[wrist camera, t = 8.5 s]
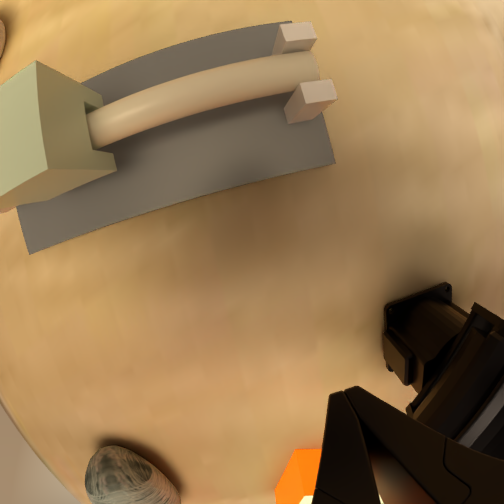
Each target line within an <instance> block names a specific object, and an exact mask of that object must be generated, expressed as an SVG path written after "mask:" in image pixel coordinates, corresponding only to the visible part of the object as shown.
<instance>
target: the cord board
mask: <svg viewBox="0 0 504 504" xmlns="http://www.w3.org/2000/svg"><path fill="white" fill-rule="evenodd" d="M316 39H317V36H316V33H315V31H314V28H313V26H312V23H311V21H309V22H298V23H292V21H286V22H278V23H271V24H264V25H258V26H252V27H246V28H241V29H236V30H231V31H226V32H222V33H217V34H213V35H209V36H205V37H201V38H198V39H194V40H190V41H187V42H184V43H180V44H177V45H174V46H171V47H167V48H164V49H161V50H159V51H156V52H153V53H150V54H147V55H144V56H142V57H139V58H137V59H134V60H131V61H129V62H126V63H124V64H122V65H119V66H117V67H115V68H112V69H110V70H108V71H106V72H103V73H101V74H99V75H97V76H95V77H93V78H91V79H89V80H87V81H85V82H83V83H81V84H82V85H84V86H86V87H88V88H89V89H91V90H93V91H95V92H97V93H98V94H100V95H102V100H103V107H101V108H99V109H97V110H94V111H92V112H90V113H88V114H86V119H87V125H88V130H89V136H90V141H91V146H92V150H97V151H102V152H108V153H113V155H114V160H115V164H116V168H117V171H115V172H112V173H110V174H107V175H105V176H102V177H100V178H97V179H95V180H93V181H90V182H88V183H85V184H83V185H81V186H78V187H76V188H74V189H72V190H69V191H67V192H65V193H63V194H61V195H58V196H56V197H54V198H52V199H50V200H46V201H40V202H34V203H29V204H23V205H18V206H13V207H8V208H3V209H0V213H4V212H8V211H10V210H11V209H13V208H15V207H16V208H17V212H18V216H19V220H20V224H21V228H22V232H23V235H24V239H25V242H26V246H27V249H28V252H29V255H30V254H33V253H35V252H38V251H40V250H43V249H45V248H48V247H50V246H53V245H56V244H58V243H61V242H63V241H66V240H69V239H71V238H74V237H77V236H80V235H82V234H85V233H88V232H91V231H94V230H96V229H99V228H102V227H105V226H108V225H111V224H114V223H117V222H120V221H123V220H126V219H129V218H132V217H135V216H138V215H141V214H144V213H147V212H150V211H153V210H157V209H160V208H163V207H166V206H170V205H173V204H176V203H180V202H183V201H186V200H190V199H193V198H197V197H200V196H204V195H207V194H211V193H215V192H218V191H222V190H226V189H229V188H233V187H237V186H241V185H245V184H249V183H252V182H256V181H260V180H265V179H269V178H273V177H277V176H281V175H285V174H290V173H294V172H298V171H303V170H307V169H312V168H317V167H321V166H326V165H331V164H336V163H335V159H334V155H333V151H332V147H331V143H330V139H329V135H328V131H327V128H326V124H325V120H324V117H323V113H322V111H323V110H325V109H326V108H327V107H328V106H330V105H331V104H332V103H333V102H335V101H336V100H337V99H338V98H337V94H336V91H335V88H334V85H333V82H332V79H326V80H320V77H319V69H318V65H317V61H316V59H315V57H314V55H313V54H312V52H311V51H310V50H311V48H312V46H313V44H314V43H315V41H316Z"/></svg>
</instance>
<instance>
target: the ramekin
mask: <svg viewBox="0 0 504 504" xmlns="http://www.w3.org/2000/svg"><path fill="white" fill-rule="evenodd" d="M5 38H6V34H5V26H4V23H3V22H2V21H1V19H0V58H1V55H2V52H3V49H4V45H5Z"/></svg>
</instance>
